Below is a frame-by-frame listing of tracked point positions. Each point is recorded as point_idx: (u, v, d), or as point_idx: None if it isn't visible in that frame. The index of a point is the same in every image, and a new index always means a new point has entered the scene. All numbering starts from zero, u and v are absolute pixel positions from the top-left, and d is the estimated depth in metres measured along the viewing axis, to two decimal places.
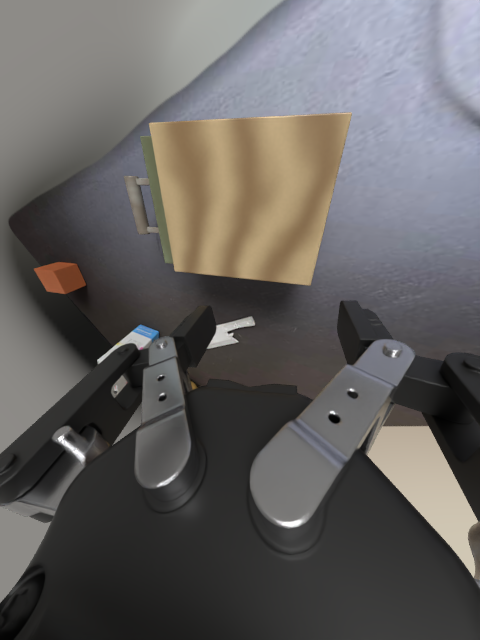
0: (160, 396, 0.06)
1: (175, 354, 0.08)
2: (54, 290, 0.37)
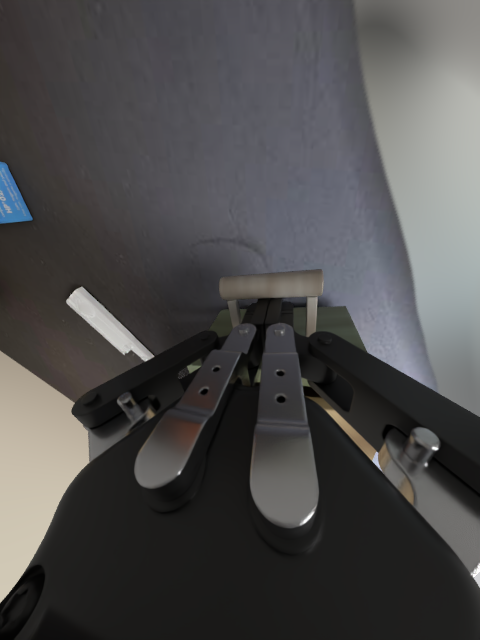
0: (203, 388, 0.06)
1: (246, 348, 0.08)
2: None
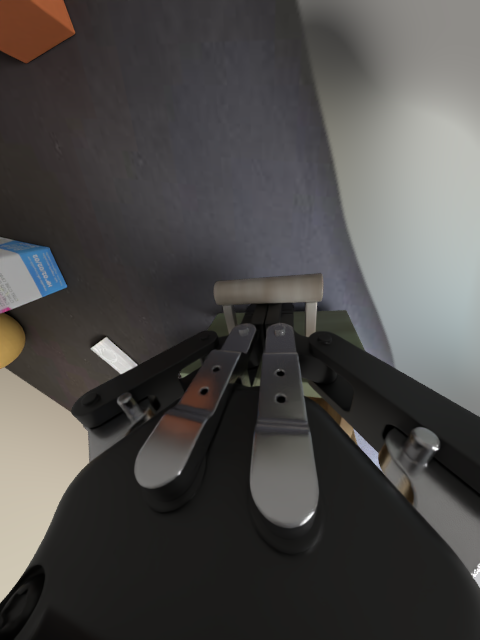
0: (203, 388, 0.06)
1: (246, 348, 0.08)
2: None
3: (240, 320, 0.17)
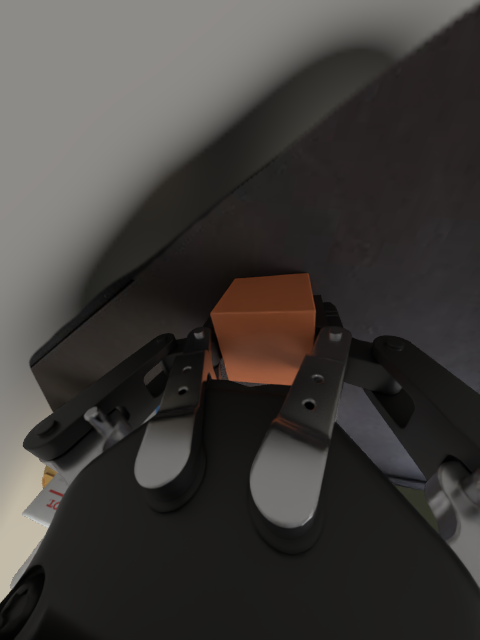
0: (180, 389, 0.06)
1: (208, 347, 0.08)
2: (228, 350, 0.10)
3: None
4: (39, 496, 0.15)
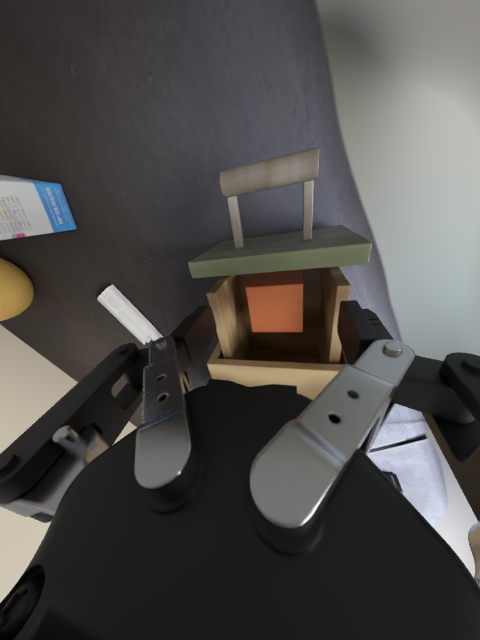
0: (160, 396, 0.06)
1: (175, 354, 0.08)
2: None
3: (242, 240, 0.18)
4: None
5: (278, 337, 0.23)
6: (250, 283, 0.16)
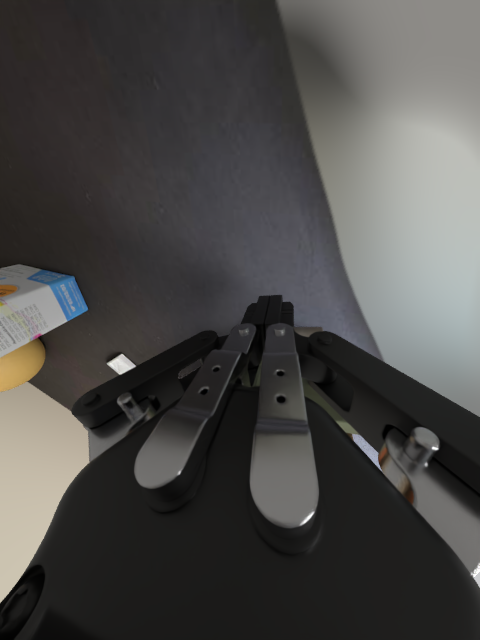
0: (203, 388, 0.06)
1: (246, 348, 0.08)
2: None
3: None
4: None
5: None
6: None
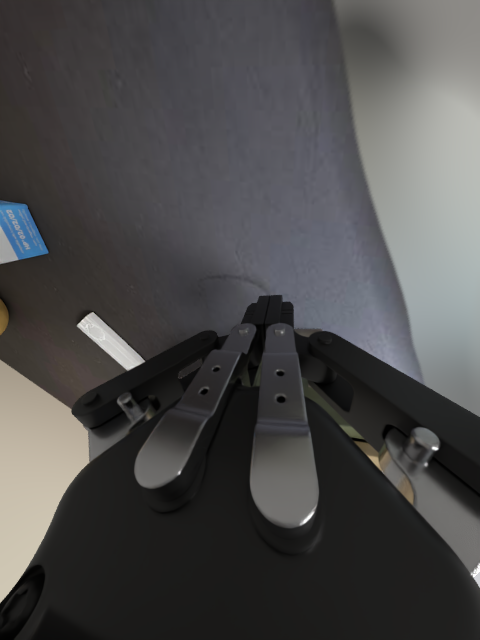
0: (203, 388, 0.06)
1: (246, 348, 0.08)
2: None
3: None
4: None
5: None
6: None
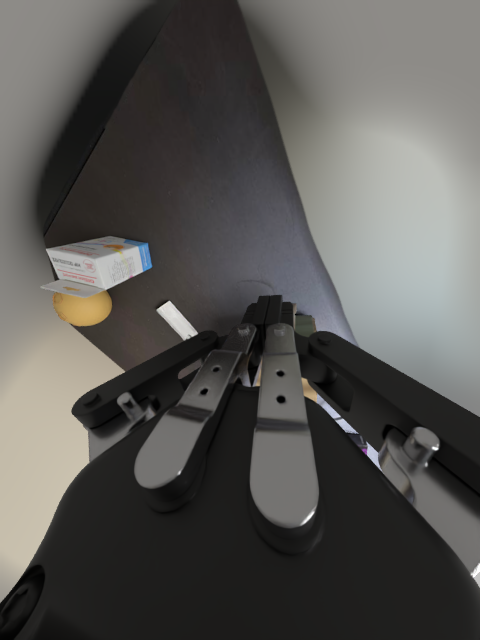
0: (203, 388, 0.06)
1: (246, 348, 0.08)
2: None
3: None
4: (54, 247, 0.28)
5: None
6: None
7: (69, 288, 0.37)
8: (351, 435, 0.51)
